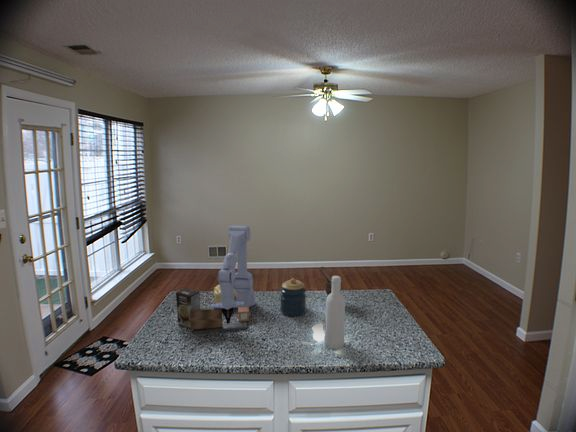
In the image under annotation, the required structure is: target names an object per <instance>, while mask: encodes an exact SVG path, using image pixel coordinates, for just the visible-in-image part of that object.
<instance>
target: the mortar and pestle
mask: <svg viewBox="0 0 576 432" xmlns="http://www.w3.org/2000/svg"><path fill="white" fill-rule="evenodd" d="M319 271H320V274H322V276H324V278H325V279H324V280H325V281H324V283H325V293H326V295H327V296H328V295H329V294H330V293H331V292H332V281H331V280H332V277H330V276H329V274H328V272H327V270H326V268H325V267H324V266H321V267H320V268H319ZM342 283H343V282H342V280H341V290H340V293H341V294H342V286H343V285H342Z"/></svg>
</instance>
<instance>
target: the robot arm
mask: <svg viewBox="0 0 576 432" xmlns="http://www.w3.org/2000/svg"><path fill="white" fill-rule="evenodd" d="M227 234H228V238H229V246H228V253H227V254H226V255H224V258H223V261H222V262H223V263H222V266H221V269H219V271H218V273H217V281H218V285H219V286H220V288H221V303H212V304H210V305H211V306H210V308H211V310H214V309H215V308H222V315H223V316H224V317H225V321H226V324H231V320H232V319H231V318H232V316H233V314H234V311H235V310H234V309H236V308H237V309H238V307H242V308H243V307H248V308H250V307H253V306H254V305H257V302H255V301H256V300H255V299H256V297H255V295H256V294H255V290H254V288H253V287H254V286H253V285H254V278H253V274H252V273H250V272H249V271H248V242H249V241H251V228H250V226H248V225H233V224H231V225H230V226H229V227H228V230H227ZM236 265H237V272H236ZM233 288H234V289H235V291H236V300H235V301H234V291H233Z"/></svg>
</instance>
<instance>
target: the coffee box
mask: <svg viewBox="0 0 576 432" xmlns="http://www.w3.org/2000/svg"><path fill="white" fill-rule="evenodd" d="M175 296H176V300H175V301H176V310H177V312H176V313H177V324H178V325H181V326H184V327H187V328H190V329H191V322H190V309H200V308H201V300H200V299H201V297H200V296H201V295H200V290H195V289H191V288H188V287H184V288H183V289H180V290H178V291H176V292H175Z"/></svg>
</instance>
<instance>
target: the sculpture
mask: <svg viewBox="0 0 576 432" xmlns="http://www.w3.org/2000/svg"><path fill="white" fill-rule="evenodd" d="M233 291H234V301H235V302H236V291H235V289H234V288H233ZM213 298H214V302H215V304H217V303H221V288H220V286H219V284H217V285H216V286H214V288H213Z"/></svg>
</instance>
